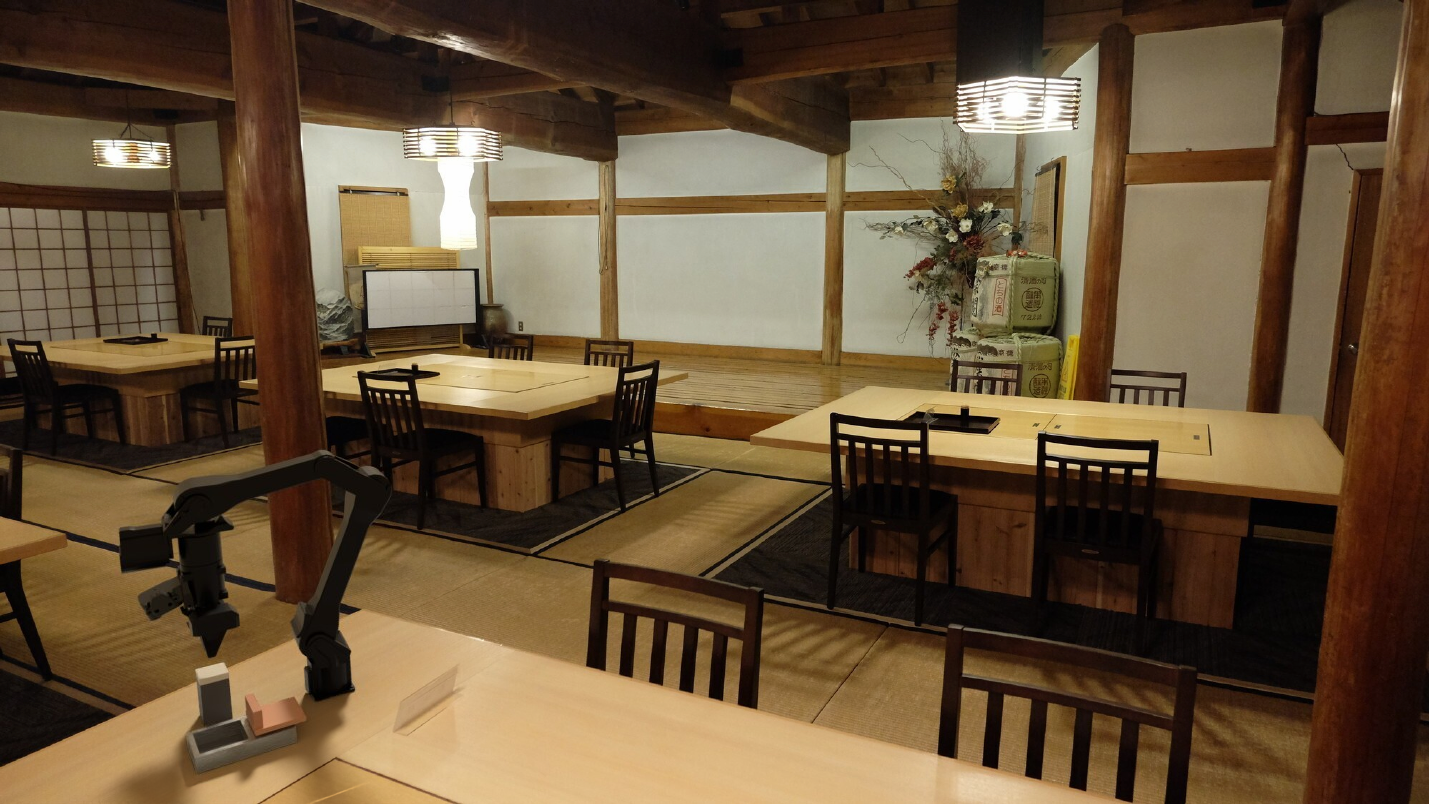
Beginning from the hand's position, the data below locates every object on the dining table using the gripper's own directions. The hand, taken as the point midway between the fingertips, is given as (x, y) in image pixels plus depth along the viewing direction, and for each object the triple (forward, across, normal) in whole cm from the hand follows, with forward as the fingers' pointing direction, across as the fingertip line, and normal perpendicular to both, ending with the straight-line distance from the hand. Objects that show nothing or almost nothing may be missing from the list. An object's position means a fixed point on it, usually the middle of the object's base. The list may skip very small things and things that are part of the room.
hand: (210, 653), depth 136 cm
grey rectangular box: (+11, +11, +2) cm, 16 cm away
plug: (+11, 0, 0) cm, 11 cm away
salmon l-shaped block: (+8, +11, +6) cm, 15 cm away
